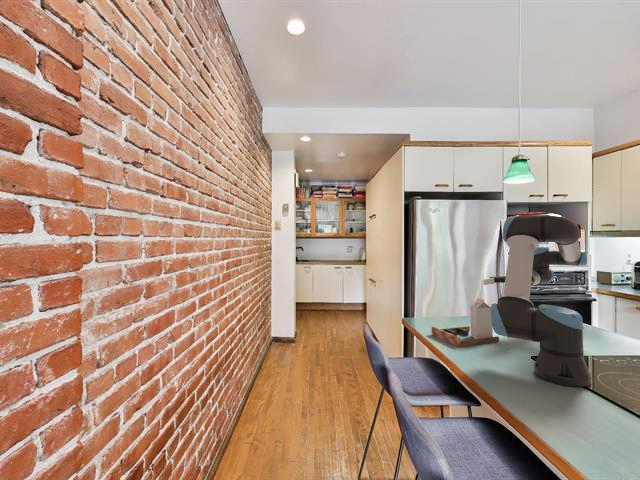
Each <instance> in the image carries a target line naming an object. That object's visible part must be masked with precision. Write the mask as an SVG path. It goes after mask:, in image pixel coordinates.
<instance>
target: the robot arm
mask: <svg viewBox="0 0 640 480" xmlns="http://www.w3.org/2000/svg"><path fill="white" fill-rule="evenodd" d="M502 238H503V239H502V240H503V242H505V243H506V245H507V247H509V251H508V255H507V257H508V258H507V265H506V271H505V272H506V273H505V275H504V276H501V275H500V276H489V278H484V279H483V280H482V281H483V283H482V284H483V286H487V285H494V284H496V283H497V284H499V283H501V284H502V283H504V286H503V294H502V295H501V296H499V297H498V298H497V303H495V302H494V303H492V304H491V305H490V307H491V323H492V328H493V331H494V333H495V334H496V335H497V336H502V337H507V338H508V339H509V338H511V339H518V340H522V341H529V342H534V343H535V342H536V343H539V351H538V355H537V357H536V359H535V362H534V365H533V370H534V371H533V372H534V374H535V375H537V377H539V378H540V379H543V380H545V381H547V382H550V383H554V384H557V385H560V386H565V387H573V388H574V387H575V388H585V387H589V386H591V385H592V375H591V373H590V371H589V368H588V366H587V365H588V364H587V363H586V360H585V357H584V356H585V355H584V331H583V330H584V329H585V327H584V325H583V323H584V322H583V316H582V315H581V314H580V313H579V312H578V311H575V310H573V309H571V308H570V309H569V308H567V307H562V306H557V305H554V304H553V305H552V304H539V305H538V308H537V307H534V303H533V302H532V301H531V300H530V298H531V288H532V287H533V286H536V285H543V284H544V285H545V284H548V283H550V282H553V281H554V279H555V276H556V275H555V273H554V271H553V270H552V269H551V268H550V266H570V267H572V266H574V267H580V266H581V267H583V266H587V264H588V252H587V251H586V250H584V249H581V247H580V243H579V242H580V241H579V239H580V238H581V230H580V228H579V226H578V225H577V224H576V223H575V222H574V221H573V220H571V219H569V218H567V217H565V216H562V215H560V214H555V213H546V214H545V213H542V214H541V213H540V214H528V215H526V214H525V215H521V214H518V215H513V216H511V215H510V216H509V217H507V218H506V220H505V221H504V223H503V227H502ZM540 243H555V244H556V246H557V249H550V247H549V246H547V245H540Z"/></svg>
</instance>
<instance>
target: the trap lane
mask: <svg viewBox="0 0 640 480" xmlns="http://www.w3.org/2000/svg"><path fill="white" fill-rule="evenodd" d="M469 332H471V326H469V325H468V326H467V325H466V326H459V327H449V328H438V327H436V326H431V335H432V336H434V337H436V338H437V339H441V340H442V339H443V340H442V341H444V342H447V343H449V344H451V345H454V346H455V347H458V348H460V347H461V348H462V347H469V346H477V345H478V346H479V345H486V344H493V343H499V341H500V337H499V336H498V335H497V336H493V337H488V338H480V339H475V338H472V339H465V340H461V337H460V336H457V335H458V334H459V335H463V336H464V337H467V336H470V335H469V334H470V333H469Z"/></svg>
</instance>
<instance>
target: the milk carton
mask: <svg viewBox="0 0 640 480" xmlns="http://www.w3.org/2000/svg"><path fill="white" fill-rule="evenodd" d="M469 306H470V307H469V308H470V309H469V310H470V336H471V337H472V339H480V338H488V337H494V335H493V334H494V333H493V331H494V330H493V327H492V323H491V305H488V304H487V302H485V299H483V298H481V297H479V296H477V299H476V300H475V301H473V303H471V304H470V305H469Z"/></svg>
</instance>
